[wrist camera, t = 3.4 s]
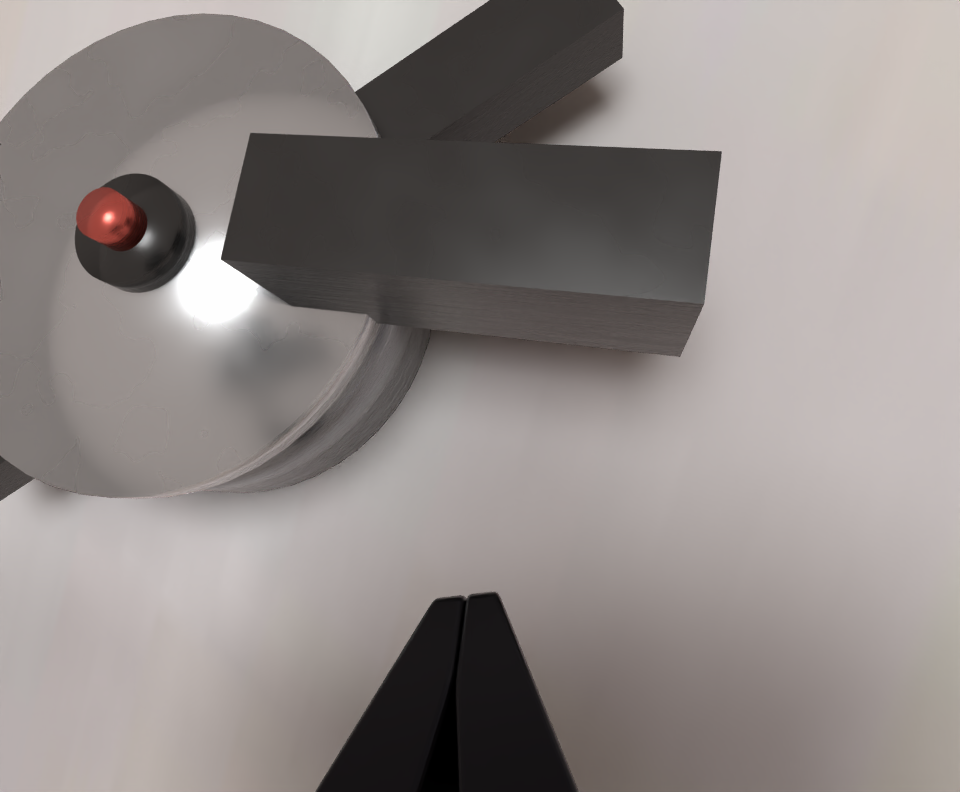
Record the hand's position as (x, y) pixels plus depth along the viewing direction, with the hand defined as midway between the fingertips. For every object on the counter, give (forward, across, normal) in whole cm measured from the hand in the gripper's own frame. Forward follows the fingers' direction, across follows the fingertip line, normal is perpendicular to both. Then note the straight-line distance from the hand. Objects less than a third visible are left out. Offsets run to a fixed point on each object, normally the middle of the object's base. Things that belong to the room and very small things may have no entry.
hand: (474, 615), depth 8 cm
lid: (+12, +6, -2) cm, 13 cm away
